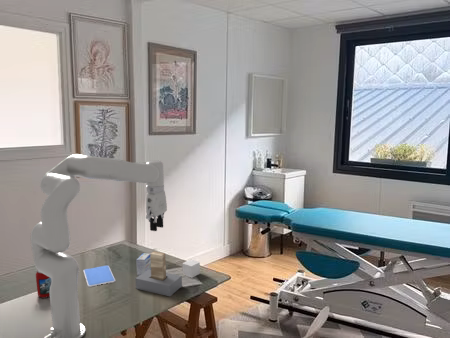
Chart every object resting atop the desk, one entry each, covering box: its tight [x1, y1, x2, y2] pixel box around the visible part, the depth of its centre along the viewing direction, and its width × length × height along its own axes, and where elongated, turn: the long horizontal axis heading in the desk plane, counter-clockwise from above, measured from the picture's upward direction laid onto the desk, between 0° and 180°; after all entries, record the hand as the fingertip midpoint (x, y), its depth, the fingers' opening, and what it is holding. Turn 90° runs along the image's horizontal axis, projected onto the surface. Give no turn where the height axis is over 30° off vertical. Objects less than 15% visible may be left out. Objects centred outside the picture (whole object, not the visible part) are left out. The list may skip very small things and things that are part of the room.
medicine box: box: [136, 252, 151, 277], centre depth 203 cm, size 8×4×9 cm, turn 168°
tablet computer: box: [83, 265, 116, 288], centre depth 201 cm, size 19×13×1 cm, turn 25°
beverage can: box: [35, 269, 52, 299], centre depth 182 cm, size 7×7×12 cm
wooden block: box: [149, 250, 167, 281], centre depth 187 cm, size 3×6×12 cm, turn 66°
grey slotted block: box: [135, 269, 183, 297], centre depth 189 cm, size 10×18×5 cm, turn 66°
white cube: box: [181, 258, 201, 279], centre depth 202 cm, size 6×6×6 cm
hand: (156, 228), depth 184 cm, fingers open, 4 cm apart
